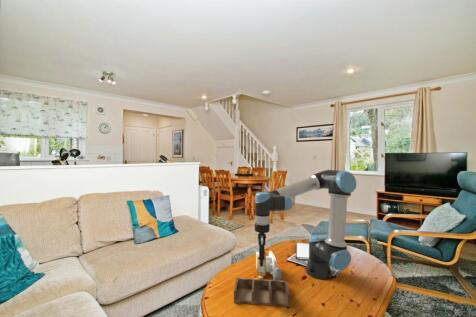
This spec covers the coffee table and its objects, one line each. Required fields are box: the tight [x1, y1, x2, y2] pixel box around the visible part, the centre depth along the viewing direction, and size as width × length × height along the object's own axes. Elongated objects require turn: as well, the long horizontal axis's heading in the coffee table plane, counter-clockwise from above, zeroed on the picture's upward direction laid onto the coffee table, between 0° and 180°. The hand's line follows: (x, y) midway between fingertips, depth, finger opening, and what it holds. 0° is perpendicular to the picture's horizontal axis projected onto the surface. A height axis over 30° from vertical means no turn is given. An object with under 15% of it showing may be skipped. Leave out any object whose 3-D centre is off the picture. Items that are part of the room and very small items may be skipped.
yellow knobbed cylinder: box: [256, 254, 267, 277], centre depth 111 cm, size 5×5×10 cm
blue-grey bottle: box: [272, 267, 283, 281], centre depth 121 cm, size 5×5×10 cm
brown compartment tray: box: [233, 277, 291, 308], centre depth 112 cm, size 27×12×6 cm, turn 85°
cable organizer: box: [255, 250, 278, 279], centre depth 135 cm, size 15×11×12 cm
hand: (261, 269), depth 111 cm, fingers closed on yellow knobbed cylinder, 4 cm apart
